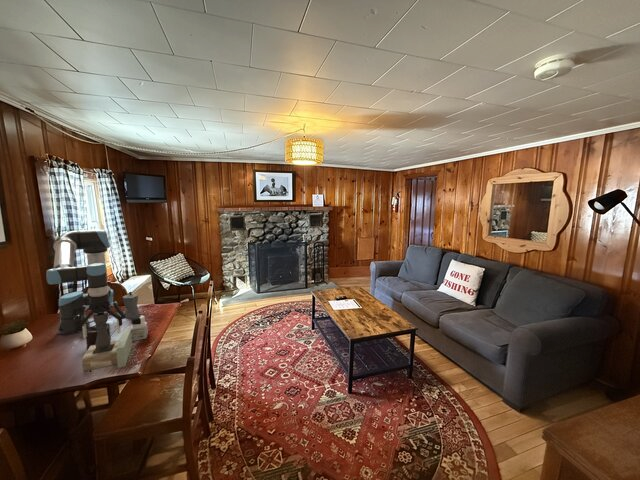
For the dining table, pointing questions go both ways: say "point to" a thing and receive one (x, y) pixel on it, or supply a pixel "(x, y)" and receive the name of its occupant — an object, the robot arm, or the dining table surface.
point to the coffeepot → (131, 305)
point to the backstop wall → (124, 348)
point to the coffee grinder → (92, 333)
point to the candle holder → (102, 332)
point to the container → (139, 328)
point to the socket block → (100, 357)
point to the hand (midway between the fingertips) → (102, 334)
